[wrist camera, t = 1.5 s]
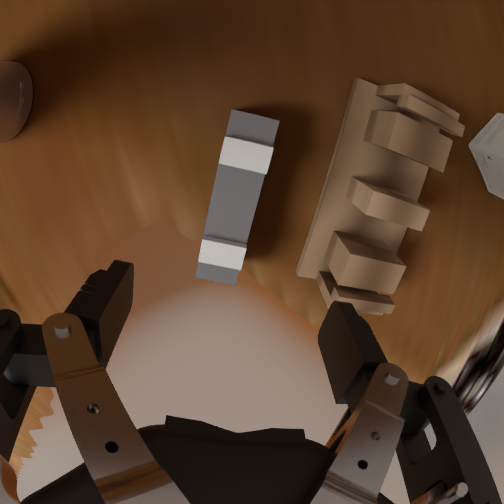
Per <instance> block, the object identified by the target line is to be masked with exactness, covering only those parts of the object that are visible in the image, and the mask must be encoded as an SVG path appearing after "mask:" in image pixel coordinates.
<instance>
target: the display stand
mask: <svg viewBox="0 0 504 504" xmlns="http://www.w3.org/2000/svg"><path fill="white" fill-rule="evenodd" d="M459 115H460V114H459V113H457V112H455V111H454V110H452V109H451V108H449V107H447V106H446V105H444V104H442V103H440V102H439V101H437V100H435V99H433V98H432V97H430V96H428V95H426V94H424V93H423V92H421V91H419V90H417V89H415V88H413V87H411V86H409V85H407V84H405V83H403V84H390V85H379V86H377V85H375V84H373V83H370V82H368V81H365V80H363V79H360V78H354V81H353V85H352V88H351V92H350V96H349V100H348V103H347V107H346V111H345V114H344V118H343V122H342V125H341V129H340V132H339V136H338V139H337V143H336V146H335V150H334V153H333V157H332V160H331V163H330V167H329V170H328V173H327V177H326V180H325V183H324V186H323V190H322V193H321V196H320V199H319V202H318V206H317V209H316V212H315V215H314V218H313V221H312V224H311V227H310V230H309V233H308V236H307V239H306V242H305V245H304V248H303V251H302V254H301V257H300V260H299V263H298V266H297V269H296V273H297V276H301V277H306V278H312V279H316V281H317V283H318V286H319V288H320V291H321V293H322V295H323V298H324V300H325V303H326V305H327V307H328V308H330V305H331V304H332V302H333V301H341V302H348V303H352V304H353V306H354V308H355V310H356V312H359V313H367V314H375V315H383V313H387V314H391V313H392V311H393V309H394V307H395V304H394V302H393V301H392V299H391V298H390V297H389V296H388V295H382V294H378V293H377V292H383V293H389V294H394V292H395V290H396V287H397V285H398V283H399V281H400V279H401V277H402V275H403V273H404V271H405V269H406V265H405V264H404V263H403V262H402V261H401V260H400V259H399V258H398V257H397V256H396V254H397V251H398V249H399V247H400V244H401V242H402V240H403V237H404V235H405V232H406V230H407V227H409V228H412V229H415V230H419V231H422V230H423V227H424V225H425V222H426V220H427V217H428V214H429V212H430V210H428V209H427V208H425V207H424V206H422V205H421V204H419V203H418V202H417V201H418V198H419V195H420V193H421V190H422V187H423V184H424V181H425V178H426V175H427V172H428V169H429V167H431V168H433V169H435V170H438V171H440V172H442V173H443V172H444V169H445V166H446V162H447V159H448V156H449V153H450V149H451V146H452V142H453V140H451V139H449V138H448V137H446V136H444V135H442V134H440V133H439V132H440V129H442V130H444V131H446V132H448V133H449V134H451V135H456V136H460V137H462V136H463V132H464V128H465V126H464V125H462V124H461V123H459V122H458V119H459ZM376 291H377V292H376Z"/></svg>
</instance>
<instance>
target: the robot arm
mask: <svg viewBox="0 0 504 504" xmlns="http://www.w3.org/2000/svg"><path fill="white" fill-rule="evenodd" d="M32 100H33V84H32V79H31V76H30V74H29V72H28V70H27V68H26V67H25V66H24V65H22V64H21V63H19V62H14V61H0V143H3V142H7V141H9V140H11V139H12V138H14V137H15V136H16V135H17V134H18V133H19V132H20V130H21V129H22V128H23V126H24V124H25V122H26V120H27V119H28V116H29V113H30V110H31V105H32ZM133 279H134V265H133V263H129V262H123V261H119V260H114V261H113V263H112V264H111V266H110V267H109V268H108V270H107V271H105V270H101V269H100V270H98V271H97V272H95V273H93V274H91V275H90V276H89V278H88V279H87V280H86V282H85V284H84V285H83V286H82V287H81V289H80V291H78V293H77V294H76V296H75V297H74V298H73V300H72V301H71V303H70V304H69V306H68V307H67V309H66V310H65V311H64V313H57V314H54V315H51V316H50V317H48V318H47V319H46V320H45V321H44V323H43V324H42V325H37V324H22V323H21V320H20V317H19V315H18V314H17V313H16V312H15V311H12V310H9V309H2V310H0V504H394V503H393V502H392V501H390V500H389V499H388V498H387V497H385V496H384V495H383V494H382V493H380V492H379V491H380V489H381V486H382V484H383V482H384V479H385V477H386V474H387V471H388V469H389V466H390V463H391V461H392V458H393V455H394V453H395V450H396V453H397V456H398V460H399V463H400V467H401V470H402V474H403V478H404V481H405V485H406V489H407V493H408V497H409V501H410V504H502V502H501V499H500V496H499V493H498V490H497V488H496V485H495V482H494V480H493V478H492V474H491V472H490V469H489V467H488V465H487V462H486V459H485V457H484V455H483V452H482V450H481V448H480V445H479V443H478V441H477V439H476V436H475V434H474V432H473V430H472V428H471V425H470V424H469V421H468V419H467V417H466V415H465V413H464V411H463V409H462V407H461V405H460V403H459V401H458V399H457V397H456V395H455V393H454V391H453V389H452V387H451V386H450V385H449V383H448V382H447V381H445V380H444V379H442V378H440V377H438V376H431V377H429V378H428V379H427V380H426V381H425V383H424V384H419V383H415V382H411V381H409V379H408V376H407V374H406V373H405V372H404V371H403V370H402V369H401V368H400V367H398V366H397V365H395V364H392V363H388V361H387V359H386V357H385V355H384V353H383V351H382V349H381V347H380V345H379V343H378V341H376V340H377V339H376V337H375V336H374V334H373V332H372V330H371V328H370V326H369V324H368V323H367V322H366V321H365V320H364V319H363V318H362V317H361V316H358V314H357V312H356V310H355V308H354V306H353V304H352V303H348V302H341V301H333V302H332V304H331V305H330V308H329V310H328V312H327V314H326V316H325V319H324V321H323V323H322V325H321V327H320V330H319V334H318V344H319V347H320V351H321V354H322V357H323V361H324V364H325V367H326V371H327V374H328V378H329V381H330V384H331V388H332V391H333V395H334V398H335V402H336V404H348V409H347V410H346V411H345V413H344V414H343V416H342V418H341V420H340V422H339V424H338V425H337V427H336V429H335V431H334V432H333V434H332V435H331V437H330V439H329V440H328V442H327V444H326V445H325V446H323V445H322V444H320V443H317V442H315V441H312V440H309V439H305V433H304V429H280V428H270V429H264V430H257V431H251V432H243V433H235V432H232V431H229V430H225V429H223V428H219V427H217V426H214V425H211V424H208V423H205V422H202V421H197V420H190V419H185V418H179V417H173V416H168V415H167V416H166V421H165V424H163V425H151V426H146V427H143V428H139V429H136V427H135V426H134V424H133V422H132V420H131V419H130V417H129V415H128V413H127V411H126V410H125V408H124V406H123V404H122V402H121V400H120V398H119V396H118V394H117V392H116V390H115V388H114V386H113V384H112V382H111V380H110V378H109V376H108V374H107V372H106V370H105V369H106V367H107V364H108V362H109V359H110V357H111V355H112V352H113V350H114V347H115V345H116V342H117V340H118V338H119V335H120V333H121V331H122V328H123V326H124V324H125V322H126V319H127V317H128V315H129V312H130V310H131V306H132V300H133ZM37 386H43V387H56V389H57V392H58V395H59V398H60V401H61V404H62V407H63V410H64V413H65V416H66V419H67V421H68V424H69V426H70V429H71V432H72V434H73V437H74V439H75V441H76V444H77V446H78V449H79V450H80V453H81V455H82V458H83V460H84V463H82V464H81V465H79V466H78V467H76V468H74V469H73V470H71V471H70V472H68V473H66V474H65V475H63V476H61V477H60V478H58V479H57V480H55V481H53V482H52V483H50V484H48V485H46V486H45V487H43V488H41V489H40V490H38V491H36V492H34V493H33V494H31V495H29V496H28V497H26V498H25V499H24V500H23V501H22V502H20V500H19V498H18V495H17V477H16V473H15V471H14V469H13V467H12V466H11V465H10V464H9V460H10V456H11V453H12V450H13V447H14V444H15V441H16V438H17V435H18V433H19V430H20V427H21V424H22V422H23V419H24V416H25V414H26V411H27V409H28V406H29V404H30V401H31V399H32V397H33V394H34V392H35V389H36V387H37ZM430 423H431V425H432V428H433V430H434V433H435V435H436V440H437V441H436V445H435V447H434V449H433V450H431V447H430V445H429V442H428V440H427V437H426V434H425V432H424V429H425V428H426V427H427V425H429V424H430Z"/></svg>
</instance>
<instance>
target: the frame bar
mask: <svg viewBox="0 0 504 504" xmlns="http://www.w3.org/2000/svg"><path fill="white" fill-rule="evenodd" d="M279 122H280V121H278V120H274V119H271V118H267V117H263V116H259V115H255V114H250V113H246V112H242V111H237V110H233V109H232V111H231V115H230V119H229V123H228V127H227V131H226V135H225V139H224V143H223V147H222V151H221V155H220V160H219V165H218V169H217V174H216V178H215V183H214V187H213V192H212V196H211V201H210V206H209V211H208V215H207V220H206V225H205V230H204V235H203V239H202V244H201V249H200V254H199V260H198V267H197V272H196V278H200V279H205V280H210V281H216V282H221V283H226V284H231V285H236V281H237V278H238V274H239V270H241V268H242V264H243V260H244V257H245V253H246V249H247V246H246V244H247V240H248V236H249V232H250V229H251V225H252V221H253V217H254V214H255V210H256V206H257V203H258V199H259V195H260V191H261V188H262V184H263V180H264V177H265V174H267V171H268V168H269V164H270V160H271V157H272V153H273V149H274V148H273V143H274V140H275V136H276V132H277V129H278V125H279Z"/></svg>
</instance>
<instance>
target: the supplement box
mask: <svg viewBox="0 0 504 504" xmlns="http://www.w3.org/2000/svg"><path fill="white" fill-rule="evenodd" d="M468 147H469V149H470V151H471V152H472V154H473V156H474V158H475V160H476V162H477V165H478V167H479V169H480V172H481V174H482V176H483V179H484V181H485V184H486V187H487V190H488V191H489V192H490V193H492V194H494V195H496V196H498V197H500V198H502V199H503V200H504V114H501V113H496V114H495V116H494V117H493V118H492V119H491V120H490V121H489V122H488V123H487V124H486V125H485V127H484V128H483V129H482V130H481V131H480V132H479V133H478V134H477V135H476V136H475V137H474V138H473V139H472V141H471V142H470V143H469V144H468Z"/></svg>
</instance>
